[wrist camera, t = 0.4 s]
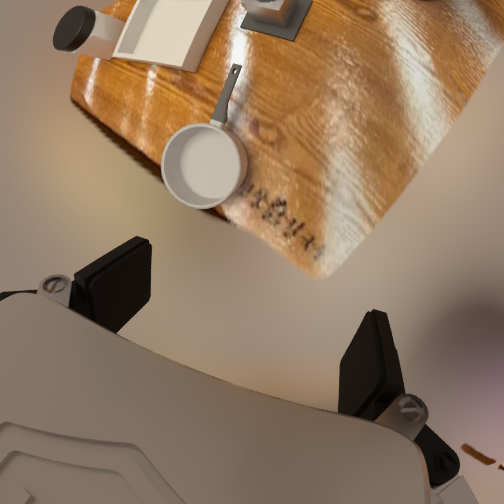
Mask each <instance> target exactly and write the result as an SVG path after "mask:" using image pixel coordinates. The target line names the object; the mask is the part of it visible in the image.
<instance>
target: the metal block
mask: <svg viewBox="0 0 504 504" xmlns="http://www.w3.org/2000/svg"><path fill="white" fill-rule="evenodd" d="M241 4H242V5H243V7H244V8H245V10H246V11H247V12H248V14H249V15H250V17H251V18H252V20H253V21H256V22H261V23H265V24H269V25H273V26H277V27H280V28H284V29H287V27H288V25H289V23H290V21H291V19H292V17H293V15H294V13H295V11H296V9H297V7H298V5H299V4H298V0H242V1H241Z"/></svg>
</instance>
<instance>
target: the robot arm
mask: <svg viewBox="0 0 504 504" xmlns="http://www.w3.org/2000/svg"><path fill="white" fill-rule="evenodd" d="M151 257H152V245H151V244H150V243H149V240H148V239H144V238H142V237H138V236H136V237H134V238H132V239H130V240H128V241H127V242H125V243H123V244H122V245H120V246H118V247H117V248H115V249H113V250H112V251H110V252H108V253H107V254H105V255H103V256H102V257H100V258H99V259H97V260H95V261H94V262H92V263H91V264H89V265H87V266H86V267H84V268H83V269H81V270H79V271H78V272H76V273H75V274H74V279H75V280H74V281H72V282H71V280H70V278H68V277H67V276H64V275H52V276H48V277H46V278H45V279H43V280H42V281H41V283H40V285H39V288H38V290H26V291H10V292H2V293H0V504H479V503H478V501H477V499H476V498H475V496H474V494H473V492H472V490H471V489H470V487H469V485H468V483H467V482H466V480H465V478H464V476H463V475H461V476H460V477H459V475H458V472H459V468H460V461H459V458H458V456H457V454H456V453H455V452H454V450H453V449H451V448H450V447H449V446H448V445H447V444H446V443H445V442H444V441H443V440H442V439H441V438H440V437H439V436H438V435H437V434H435V433H434V432H433V431H432V430H431V429H430V428H429V427H428V426H427V425H426V424H425V423H426V422H427V420H428V414H429V412H428V409H427V406H426V405H425V403H424V402H423V401H422V400H421V399H420V398H418V397H417V396H415V395H413V394H406V393H405V388H404V383H403V377H402V372H401V367H400V362H399V358H398V353H397V350H396V348H395V345H394V341H393V337H392V332H391V328H390V324H389V320H388V317H387V314H386V313H385V312H382V311H378V310H375V309H373V310H372V311H371V312H369V311H368V312H367V313H366V315H365V316H364V319H363V320H362V322H361V324H360V326H359V328H358V330H357V332H356V334H355V336H354V338H353V339H352V341H351V343H350V345H349V347H348V349H347V350H346V352H345V354H344V356H343V357H342V360H341V362H340V376H339V402H338V413H337V412H332V411H328V410H324V409H319V408H315V407H311V406H307V405H303V404H299V403H295V402H292V401H288V400H284V399H281V398H277V397H274V396H271V395H267V394H264V393H261V392H257V391H254V390H251V389H248V388H245V387H242V386H239V385H236V384H233V383H230V382H227V381H224V380H222V379H219V378H216V377H213V376H211V375H208V374H206V373H203V372H201V371H198V370H195V369H193V368H190V367H188V366H185V365H183V364H181V363H178V362H176V361H173V360H171V359H169V358H167V357H164V356H162V355H160V354H158V353H155V352H153V351H151V350H149V349H147V348H145V347H142V346H140V345H138V344H136V343H134V342H132V341H130V340H128V339H126V338H124V337H122V336H120V335H118V334H116V333H117V332H118V331H119V330H120V329H121V328H122V327H123V326H124V325H125V324H126V323H127V322H128V321H129V320H130V319H131V318H132V317H133V316H134V315H135V314H136V313H137V312H138V311H139V310H140V309H141V308H142V307H143V306H144V305H145V304H146V303H147V302H148V301H149V299H150V296H151Z"/></svg>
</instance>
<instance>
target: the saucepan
mask: <svg viewBox="0 0 504 504" xmlns="http://www.w3.org/2000/svg"><path fill="white" fill-rule="evenodd" d="M241 68H242V66H241V65H237V64H234V63H233V65H232V68H231V70H230V73H229V75H228V78H227V80H226V83H225V85H224V88H223V90H222V93H221V96H220V98H219V101H218V103H217V106H216V109H215V111H214V113H213V114H212V116H211V118H210V119H211V120H210V123H209V124H207V123H194V124H189V125H187V126H185V127H182V128H181V129H179V130H178V131H177V132H175V133H174V134H173V135H172V136H171V138H170V139H169V140H168V142H167V144H166V145H165V148H164V150H163V154H162V159H161V172H162V177H163V180H164V183H165V185H166V187H167V189H168V190H169V192H170V193H171V194H172V196H173V197H174V198H175V199H177V200H178V201H179V202H181V203H182V204H184V205H186V206H189V207H191V208H196V209H208V208H212V207H215V206H217V205H219V204H221V203H223V202H224V201H225V200H226V199H227V198H229V197H230V195H231V194H232V193H233V192H235V191H236V190H237V189H238V188H239V187H240V185H241V184H242V182H243V180H244V178H245V176H246V173H247V166H248V160H247V154H246V151H245V148H244V146H243V144H242V143H241V141H240V140H239V139H238V138H237V136H235V135H234V134H233V133H231V132H230V131H228V130H226V129H223V128H224V125H225V123H226V121H227V119H228V118H227V110H228V102H229V99H230V96H231V94H232V91H233V88H234V86H235V83H236V81H237V78H238V75H239V73H240V70H241ZM236 69H237V71H236V73H235V74H234V71H235V70H236Z"/></svg>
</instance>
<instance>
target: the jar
mask: <svg viewBox="0 0 504 504" xmlns="http://www.w3.org/2000/svg"><path fill="white" fill-rule="evenodd" d="M125 24H126V22H124V21H122V20H119V19H117V18H114V17H112V16H109V15H106V14H103V13H101V12H97V11H94V10H92V9H90V8H87V7H84V6H75V7H73V8H72V9H70V10H69V11H68V12H67V13H66V14H65V15H64V16H63V17H62V18H61V20H60V22H59V23H58V25H57V27H56V29H55V32H54V36H53V45H54V47H55V49H57V50H61V51H68V52H72V53H74V54H80V55H85V56H91V57H96V58H101V59H106V60H111V59H112V58H113V57H112V56H113V53H114V51H115V48H116V46H117V43H118V41H119V38H120V36H121V33H122V31H123V29H124V27H125Z"/></svg>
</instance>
